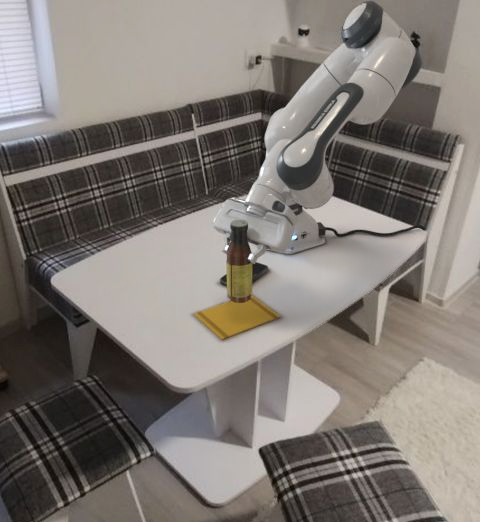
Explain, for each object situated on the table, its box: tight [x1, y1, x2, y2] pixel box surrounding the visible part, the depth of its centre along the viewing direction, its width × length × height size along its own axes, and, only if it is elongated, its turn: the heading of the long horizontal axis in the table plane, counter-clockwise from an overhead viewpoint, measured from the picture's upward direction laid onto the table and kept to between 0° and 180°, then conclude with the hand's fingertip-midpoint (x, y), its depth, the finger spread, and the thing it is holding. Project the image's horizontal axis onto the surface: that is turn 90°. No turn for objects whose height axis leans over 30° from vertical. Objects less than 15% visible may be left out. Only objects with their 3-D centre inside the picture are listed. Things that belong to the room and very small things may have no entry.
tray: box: [193, 294, 281, 341], centre depth 135 cm, size 18×13×1 cm
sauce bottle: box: [225, 220, 253, 303], centre depth 125 cm, size 6×6×20 cm
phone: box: [219, 261, 269, 287], centre depth 151 cm, size 8×1×15 cm
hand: (238, 257), depth 124 cm, fingers closed on sauce bottle, 6 cm apart
